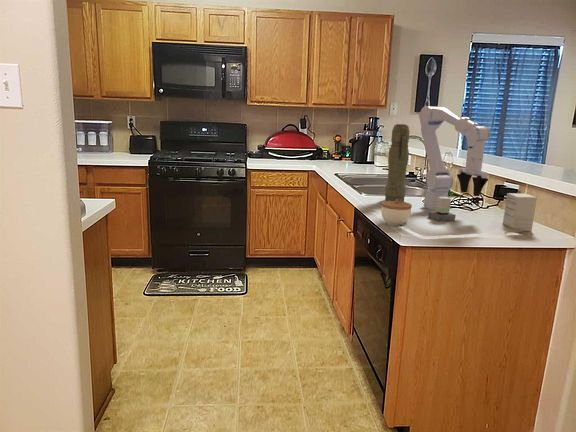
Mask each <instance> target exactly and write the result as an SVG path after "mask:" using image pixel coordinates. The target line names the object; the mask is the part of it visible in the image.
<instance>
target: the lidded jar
mask: <svg viewBox="0 0 576 432" xmlns="http://www.w3.org/2000/svg"><path fill="white" fill-rule="evenodd" d="M412 205H413V204H411V203H409V202H405V201H404V202H401V201H398V199H396V200H395V201H385V200H384V201H382V202H381V207H380V208H381V217H382V219H383V221H384V222H385V224H386V225H387V226H391V227H403V225H404V224H406V223H407V222H408V221H409V219H410V216H411V212H412V207H413V206H412Z"/></svg>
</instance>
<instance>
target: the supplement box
mask: <svg viewBox="0 0 576 432" xmlns="http://www.w3.org/2000/svg"><path fill="white" fill-rule="evenodd" d="M537 199H538V197H537V196H534V195H533V194H532V195H531V194H528V193H517V192H516V193H515V192H514V193H511V192H509V193H508V192H507V193H506V199H505V205H504V206H505V207H504V213H503V220H502V224H504V225H505V226H507V227H510V228H512V229H517V230H520V231H523V232H532V230H533V223H534V218H535V212H536V205H537Z"/></svg>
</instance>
